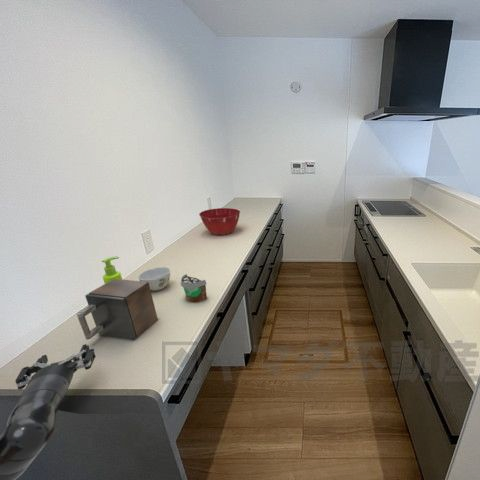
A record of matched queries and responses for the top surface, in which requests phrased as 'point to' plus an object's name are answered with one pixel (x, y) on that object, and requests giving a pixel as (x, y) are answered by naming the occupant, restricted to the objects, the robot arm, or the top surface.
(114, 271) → the soap dispenser
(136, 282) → the cupboard
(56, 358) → the top surface
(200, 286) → the food container
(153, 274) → the teacup
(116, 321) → the door
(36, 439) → the robot arm
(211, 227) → the mixing bowl
